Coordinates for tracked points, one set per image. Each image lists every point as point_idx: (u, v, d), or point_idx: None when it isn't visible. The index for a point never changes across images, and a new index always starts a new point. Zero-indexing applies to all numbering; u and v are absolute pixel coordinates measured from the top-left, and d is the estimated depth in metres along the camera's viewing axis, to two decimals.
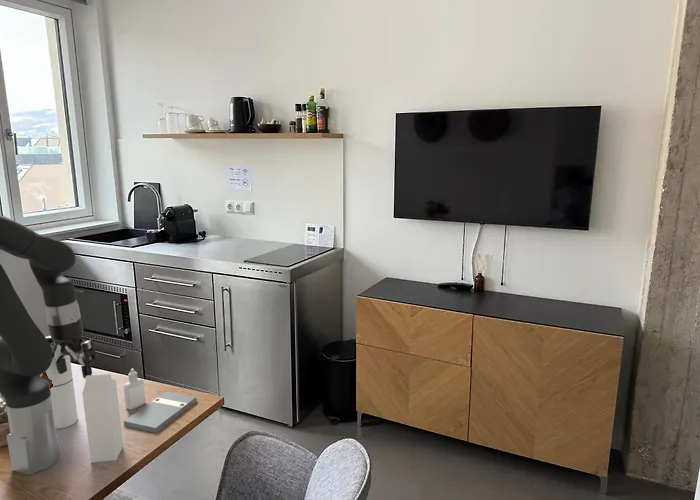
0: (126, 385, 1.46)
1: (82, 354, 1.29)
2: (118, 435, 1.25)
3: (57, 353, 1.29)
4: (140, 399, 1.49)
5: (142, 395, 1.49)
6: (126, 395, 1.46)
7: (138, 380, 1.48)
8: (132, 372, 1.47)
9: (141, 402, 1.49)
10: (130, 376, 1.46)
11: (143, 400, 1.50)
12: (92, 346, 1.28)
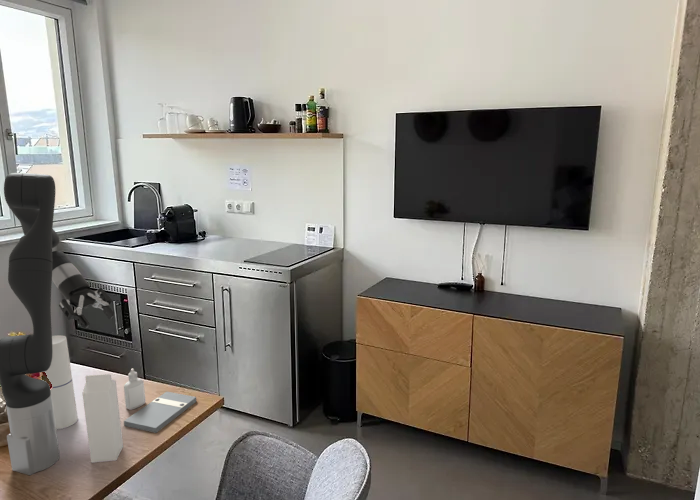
0: (126, 385, 1.46)
1: None
2: (118, 435, 1.25)
3: (81, 304, 1.47)
4: (140, 399, 1.49)
5: (142, 395, 1.49)
6: (126, 395, 1.46)
7: (138, 380, 1.48)
8: (132, 372, 1.47)
9: (141, 402, 1.49)
10: (130, 376, 1.46)
11: (143, 400, 1.50)
12: None
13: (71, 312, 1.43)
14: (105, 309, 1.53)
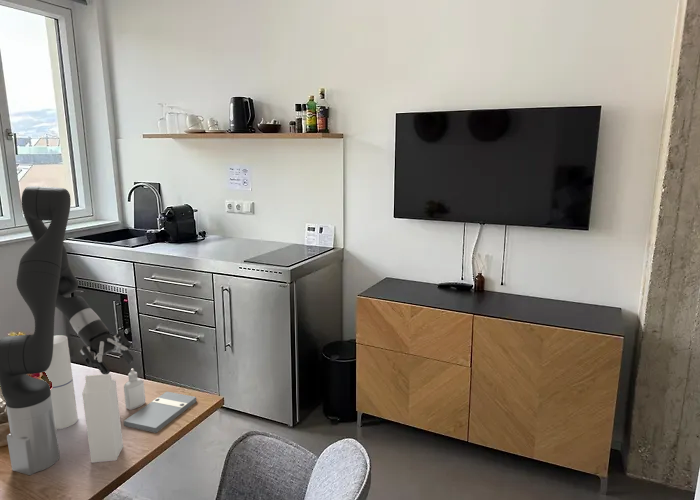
0: (126, 385, 1.46)
1: None
2: (118, 435, 1.25)
3: (102, 350, 1.47)
4: (140, 399, 1.49)
5: (142, 395, 1.49)
6: (126, 395, 1.46)
7: (138, 380, 1.48)
8: (132, 372, 1.47)
9: (141, 402, 1.49)
10: (130, 376, 1.46)
11: (143, 400, 1.50)
12: None
13: (92, 360, 1.44)
14: (124, 354, 1.53)
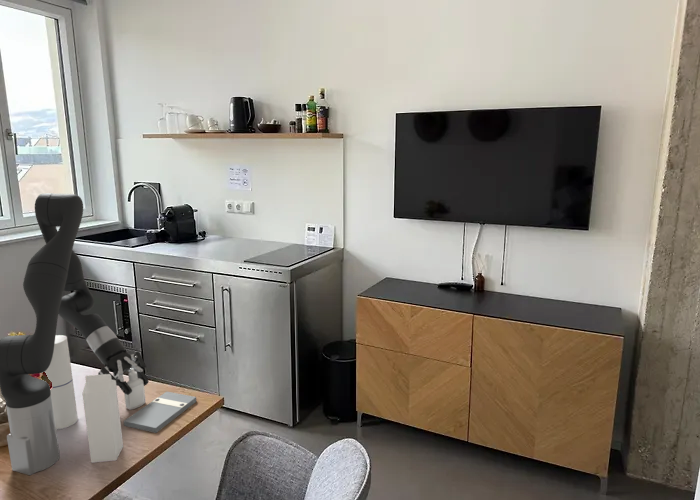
0: None
1: None
2: (118, 435, 1.25)
3: (121, 369, 1.46)
4: (140, 399, 1.49)
5: (142, 395, 1.49)
6: (126, 395, 1.46)
7: (138, 380, 1.48)
8: (132, 372, 1.47)
9: (141, 402, 1.49)
10: (130, 376, 1.46)
11: (143, 400, 1.50)
12: None
13: None
14: (139, 375, 1.50)
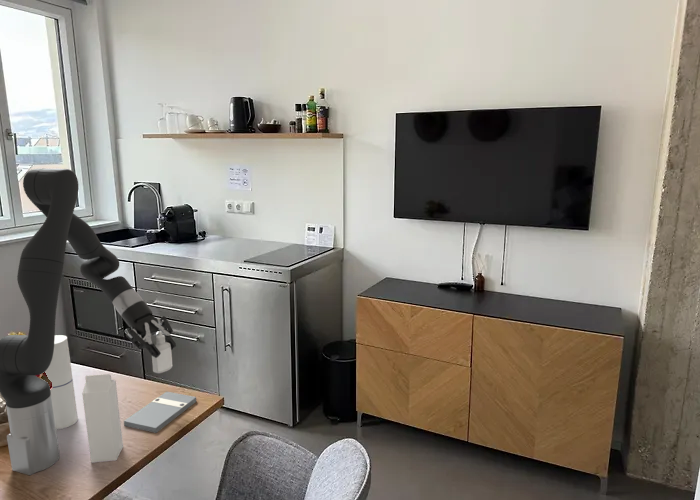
0: None
1: None
2: (118, 435, 1.25)
3: (149, 332, 1.43)
4: (168, 363, 1.46)
5: (169, 359, 1.46)
6: (154, 358, 1.43)
7: (166, 343, 1.45)
8: (160, 335, 1.44)
9: (168, 366, 1.46)
10: (158, 339, 1.43)
11: (170, 364, 1.47)
12: None
13: (142, 342, 1.40)
14: (167, 339, 1.47)
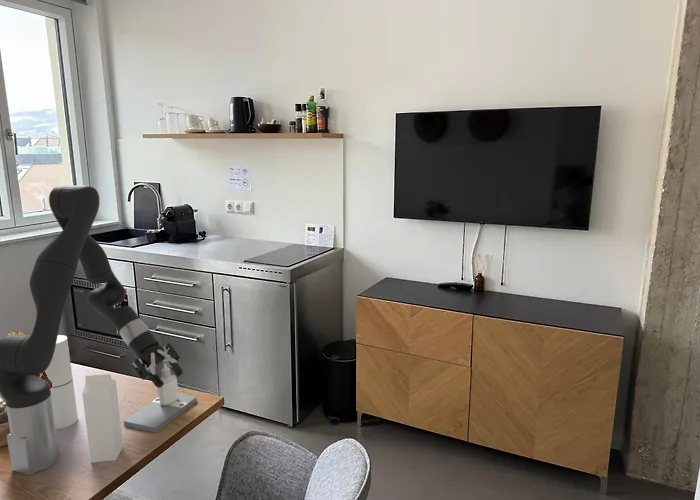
0: None
1: None
2: (118, 435, 1.25)
3: (154, 362, 1.44)
4: (174, 395, 1.48)
5: (175, 391, 1.48)
6: (160, 391, 1.45)
7: (171, 376, 1.47)
8: (165, 368, 1.46)
9: (175, 398, 1.48)
10: (163, 372, 1.45)
11: (176, 396, 1.49)
12: None
13: (146, 372, 1.41)
14: (174, 367, 1.49)
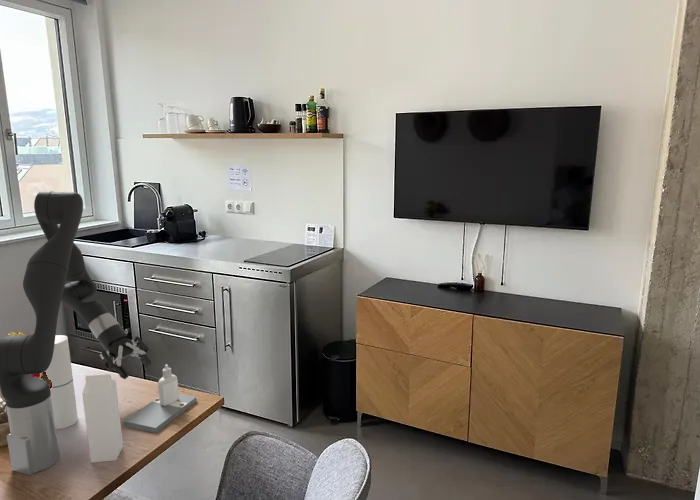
0: (160, 381, 1.45)
1: None
2: (118, 435, 1.25)
3: (120, 354, 1.49)
4: (174, 396, 1.48)
5: (176, 391, 1.48)
6: (160, 391, 1.45)
7: (172, 376, 1.47)
8: (166, 368, 1.46)
9: (175, 398, 1.48)
10: (164, 372, 1.45)
11: (177, 396, 1.49)
12: None
13: (111, 364, 1.46)
14: (142, 358, 1.55)
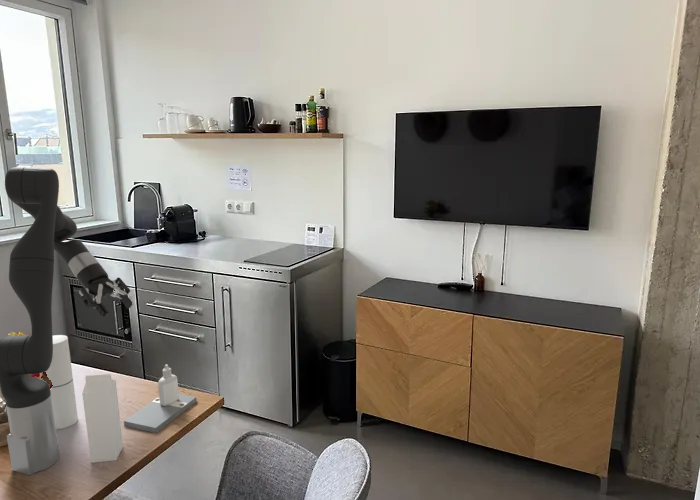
0: (160, 381, 1.45)
1: None
2: (118, 435, 1.25)
3: (100, 292, 1.46)
4: (174, 396, 1.48)
5: (176, 391, 1.48)
6: (160, 391, 1.45)
7: (172, 376, 1.47)
8: (166, 368, 1.46)
9: (175, 398, 1.48)
10: (164, 372, 1.45)
11: (177, 396, 1.49)
12: None
13: (90, 300, 1.43)
14: (123, 298, 1.52)
